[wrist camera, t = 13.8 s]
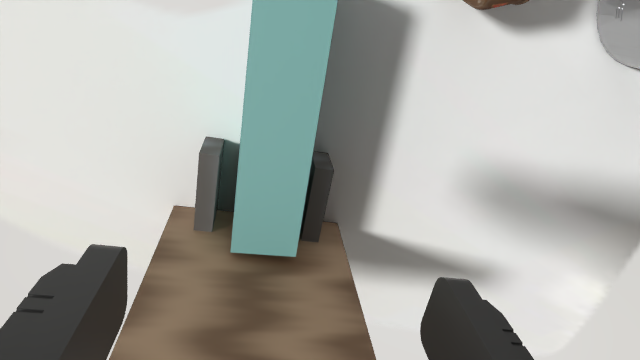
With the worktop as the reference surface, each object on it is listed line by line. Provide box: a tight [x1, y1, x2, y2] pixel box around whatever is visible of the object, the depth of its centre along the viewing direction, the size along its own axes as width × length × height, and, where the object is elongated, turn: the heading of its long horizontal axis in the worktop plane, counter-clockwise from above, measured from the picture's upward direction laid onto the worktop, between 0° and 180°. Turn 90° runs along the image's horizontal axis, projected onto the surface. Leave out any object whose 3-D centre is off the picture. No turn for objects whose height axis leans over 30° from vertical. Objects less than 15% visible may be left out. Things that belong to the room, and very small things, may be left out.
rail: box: [231, 0, 338, 257], centre depth 25 cm, size 4×16×6 cm, turn 171°
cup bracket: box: [109, 137, 376, 360], centre depth 24 cm, size 12×7×14 cm, turn 80°
